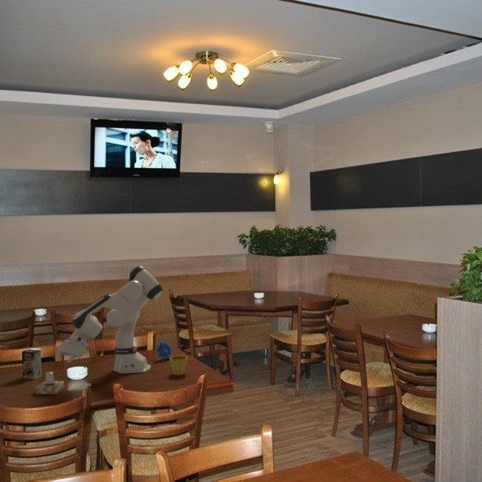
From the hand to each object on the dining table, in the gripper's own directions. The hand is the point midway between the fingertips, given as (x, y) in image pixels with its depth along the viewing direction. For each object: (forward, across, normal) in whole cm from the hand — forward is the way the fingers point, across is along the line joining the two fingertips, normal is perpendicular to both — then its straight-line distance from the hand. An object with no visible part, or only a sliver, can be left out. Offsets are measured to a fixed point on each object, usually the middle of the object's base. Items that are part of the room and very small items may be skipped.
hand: (63, 361), depth 325 cm
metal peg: (+16, -1, +5) cm, 17 cm away
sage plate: (+8, +9, +13) cm, 18 cm away
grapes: (-41, +3, +62) cm, 74 cm away
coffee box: (+11, -32, +10) cm, 36 cm away
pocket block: (+16, -1, +5) cm, 17 cm away
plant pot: (-29, +34, +50) cm, 67 cm away
